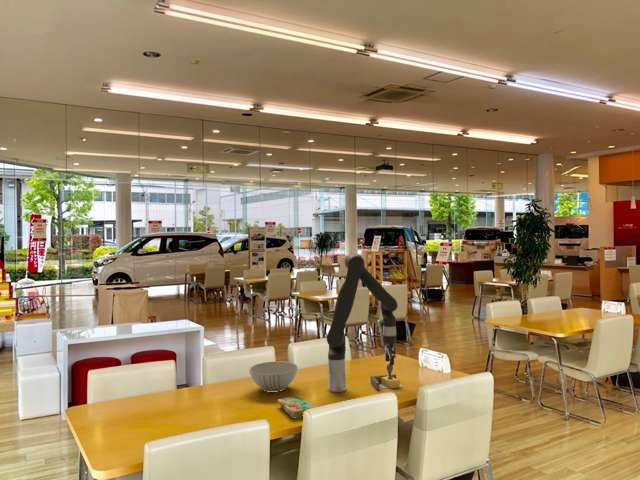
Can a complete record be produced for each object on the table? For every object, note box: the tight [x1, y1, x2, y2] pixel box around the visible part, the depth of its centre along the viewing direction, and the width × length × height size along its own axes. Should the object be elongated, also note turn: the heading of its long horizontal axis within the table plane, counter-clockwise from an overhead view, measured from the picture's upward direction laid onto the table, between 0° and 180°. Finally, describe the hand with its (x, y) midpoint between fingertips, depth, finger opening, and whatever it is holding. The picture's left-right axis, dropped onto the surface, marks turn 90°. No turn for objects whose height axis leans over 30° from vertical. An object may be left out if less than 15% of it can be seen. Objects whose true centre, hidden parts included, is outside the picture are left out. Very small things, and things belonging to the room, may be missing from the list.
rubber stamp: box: [380, 363, 401, 389], centre depth 279 cm, size 10×6×12 cm, turn 29°
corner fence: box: [370, 373, 397, 391], centre depth 280 cm, size 15×14×4 cm
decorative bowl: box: [249, 360, 299, 392], centre depth 279 cm, size 27×27×12 cm
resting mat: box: [379, 383, 404, 390], centre depth 280 cm, size 12×8×1 cm, turn 98°
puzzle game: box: [277, 395, 315, 419], centre depth 244 cm, size 12×5×20 cm
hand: (389, 363), depth 280 cm, fingers open, 8 cm apart
